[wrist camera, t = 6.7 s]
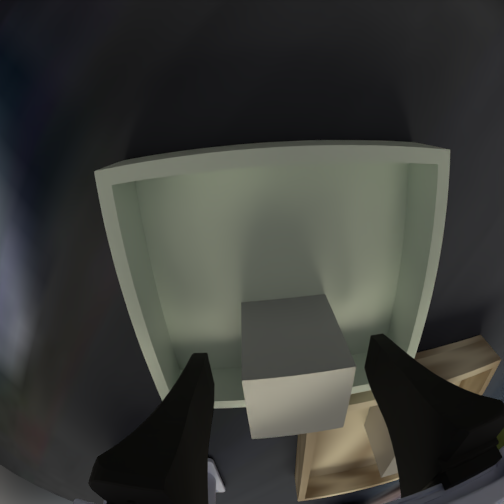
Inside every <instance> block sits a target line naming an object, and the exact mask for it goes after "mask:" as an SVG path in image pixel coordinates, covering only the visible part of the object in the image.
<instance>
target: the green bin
mask: <svg viewBox="0 0 504 504" xmlns="http://www.w3.org/2000/svg"><path fill="white" fill-rule="evenodd" d="M449 169H450V150H449V149H444V148H440V147H435V146H430V145H425V144H420V143H415V142H403V141H381V140H303V141H280V142H264V143H250V144H238V145H227V146H217V147H208V148H200V149H191V150H184V151H177V152H170V153H163V154H157V155H150V156H144V157H139V158H133V159H127V160H123V161H120V162H117V163H115V164H112V165H109V166H107V167H104V168H101V169H99V170H96V171H94V174H95V180H96V185H97V191H98V196H99V201H100V206H101V211H102V216H103V220H104V225H105V229H106V234H107V238H108V242H109V246H110V250H111V254H112V258H113V262H114V265H115V269H116V273H117V276H118V280H119V283H120V287H121V290H122V293H123V296H124V300H125V303H126V306H127V309H128V312H129V315H130V318H131V321H132V324H133V327H134V330H135V333H136V336H137V339H138V341H139V344H140V347H141V350H142V352H143V355H144V358H145V360H146V363H147V365H148V368H149V370H150V373H151V375H152V378H153V380H154V383H155V385H156V388H157V390H158V392H159V395H160V397H161V399H162V401H163V400H164V398H165V397H166V396H167V394H168V393H169V392H170V390H171V389H172V387H173V386H174V384H175V383H176V381H177V379H178V378H179V376H180V375H181V373H182V371H183V370H184V368H185V366H186V364H187V363H188V361H189V359H190V357H191V355H192V354H193V353H207V354H208V358H209V363H210V367H211V371H212V375H213V380H214V384H215V387H214V408H238V407H246V403H245V398H244V392H243V386H242V366H241V302H251V301H262V300H273V299H283V298H293V297H302V296H311V295H320V294H325V295H326V297H327V299H328V302H329V304H330V306H331V308H332V311H333V313H334V315H335V317H336V320H337V322H338V324H339V327H340V329H341V331H342V334H343V336H344V338H345V341H346V343H347V345H348V348H349V350H350V352H351V355H352V357H353V360H354V362H355V364H356V371H355V376H354V381H353V386H352V391H351V394H355V393H360V392H365V391H370V390H371V388H370V386H369V382H368V379H367V376H366V372H365V368H364V366H365V362H366V357H367V352H368V347H369V342H370V337H371V335H376V334H382V333H383V334H384V335H386V336H387V337H388V338H389V339H391V340H392V341H393V342H394V343H395V344H396V345H398V346H399V347H400V348H401V349H402V350H404V351H405V352H406V353H407V354H409V355H410V356H411V357H412V358H415V355H416V352H417V349H418V345H419V342H420V339H421V335H422V332H423V328H424V325H425V321H426V317H427V313H428V310H429V305H430V301H431V297H432V293H433V288H434V284H435V279H436V274H437V269H438V263H439V258H440V252H441V246H442V239H443V232H444V225H445V217H446V208H447V198H448V185H449Z"/></svg>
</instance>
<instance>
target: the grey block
mask: <svg viewBox="0 0 504 504" xmlns="http://www.w3.org/2000/svg"><path fill="white" fill-rule="evenodd" d="M241 366H242V386H243V392H244V398H245V403H246V409H247V415H248V420H249V426H250V432H251V437H252V439H259V438H271V437H281V436H290V435H298V434H305V433H312V432H319V431H325V430H331V429H336V428H342V427H343V426H344V422H345V418H346V414H347V409H348V405H349V400H350V396H351V391H352V386H353V381H354V376H355V371H356V364H355V362H354V360H353V357H352V355H351V352H350V350H349V348H348V345H347V343H346V341H345V338H344V336H343V334H342V331H341V329H340V327H339V324H338V322H337V320H336V317H335V315H334V313H333V311H332V308H331V306H330V304H329V302H328V299H327V297H326V295H325V294H320V295H311V296H302V297H293V298H283V299H273V300H262V301H251V302H241Z"/></svg>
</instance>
